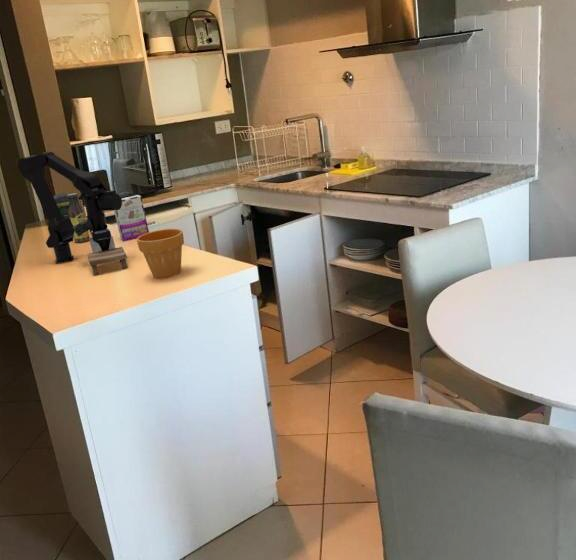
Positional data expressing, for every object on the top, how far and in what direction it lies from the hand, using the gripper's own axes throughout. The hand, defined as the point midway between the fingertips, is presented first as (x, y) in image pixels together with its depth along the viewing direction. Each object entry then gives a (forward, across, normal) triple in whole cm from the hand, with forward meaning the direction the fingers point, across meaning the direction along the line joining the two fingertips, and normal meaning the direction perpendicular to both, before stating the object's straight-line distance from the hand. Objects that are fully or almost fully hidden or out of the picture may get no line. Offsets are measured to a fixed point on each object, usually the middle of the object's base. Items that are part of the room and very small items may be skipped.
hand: (104, 253), depth 225 cm
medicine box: (+3, 0, 0) cm, 3 cm away
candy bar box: (+3, -28, +14) cm, 31 cm away
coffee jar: (+3, -59, -10) cm, 60 cm away
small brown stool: (+2, +12, 0) cm, 12 cm away
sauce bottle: (+3, -41, -6) cm, 42 cm away
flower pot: (+3, +35, +16) cm, 39 cm away
